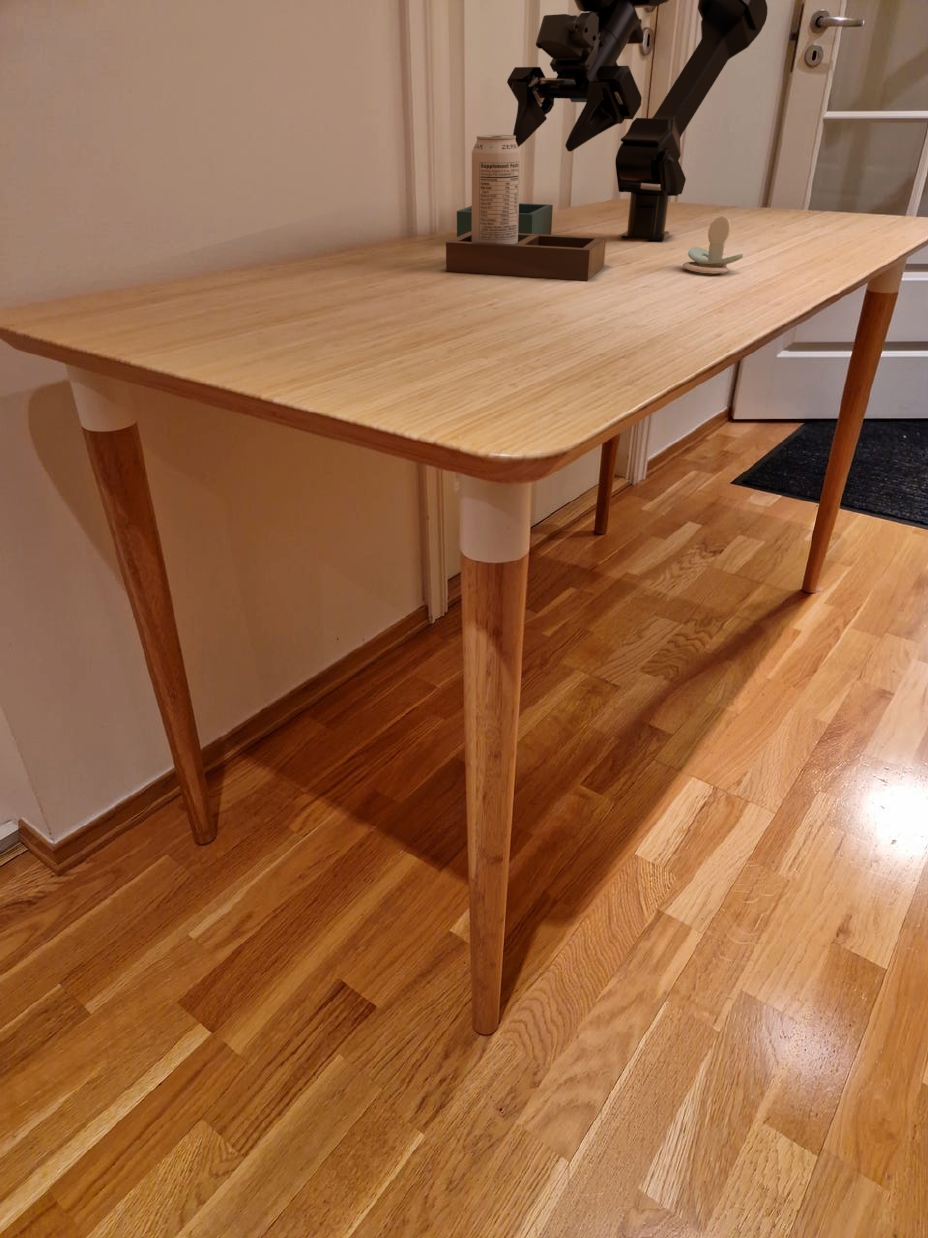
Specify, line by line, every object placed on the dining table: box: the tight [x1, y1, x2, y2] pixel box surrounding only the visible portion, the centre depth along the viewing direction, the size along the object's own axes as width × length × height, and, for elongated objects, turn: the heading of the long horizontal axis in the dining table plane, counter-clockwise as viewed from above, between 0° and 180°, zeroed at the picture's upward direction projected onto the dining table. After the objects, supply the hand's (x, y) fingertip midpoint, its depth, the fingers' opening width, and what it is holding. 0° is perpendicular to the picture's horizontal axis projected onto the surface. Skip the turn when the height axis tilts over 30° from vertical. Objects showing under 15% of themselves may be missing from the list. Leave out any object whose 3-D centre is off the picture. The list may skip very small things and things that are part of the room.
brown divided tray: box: [445, 231, 607, 282], centre depth 108 cm, size 10×19×4 cm, turn 70°
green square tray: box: [456, 202, 554, 238], centre depth 127 cm, size 12×12×4 cm
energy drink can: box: [471, 134, 521, 244], centre depth 106 cm, size 6×6×15 cm
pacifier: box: [681, 216, 744, 274], centre depth 106 cm, size 7×6×6 cm
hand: (540, 146), depth 108 cm, fingers open, 9 cm apart
